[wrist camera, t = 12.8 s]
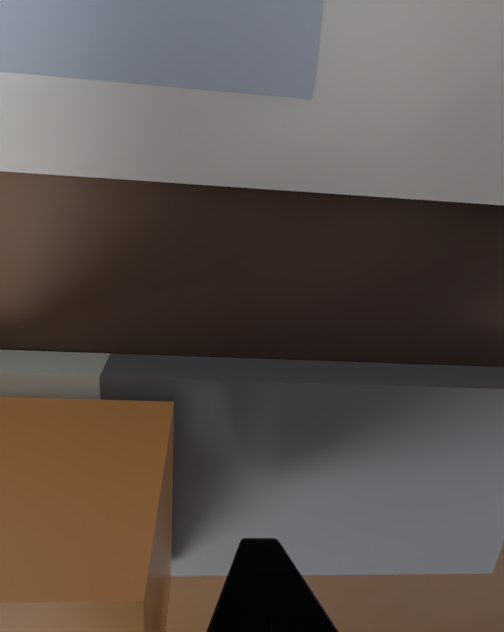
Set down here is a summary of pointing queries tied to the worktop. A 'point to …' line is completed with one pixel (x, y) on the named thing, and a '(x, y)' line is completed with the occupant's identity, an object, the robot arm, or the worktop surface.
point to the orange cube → (85, 514)
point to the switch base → (311, 455)
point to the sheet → (259, 94)
